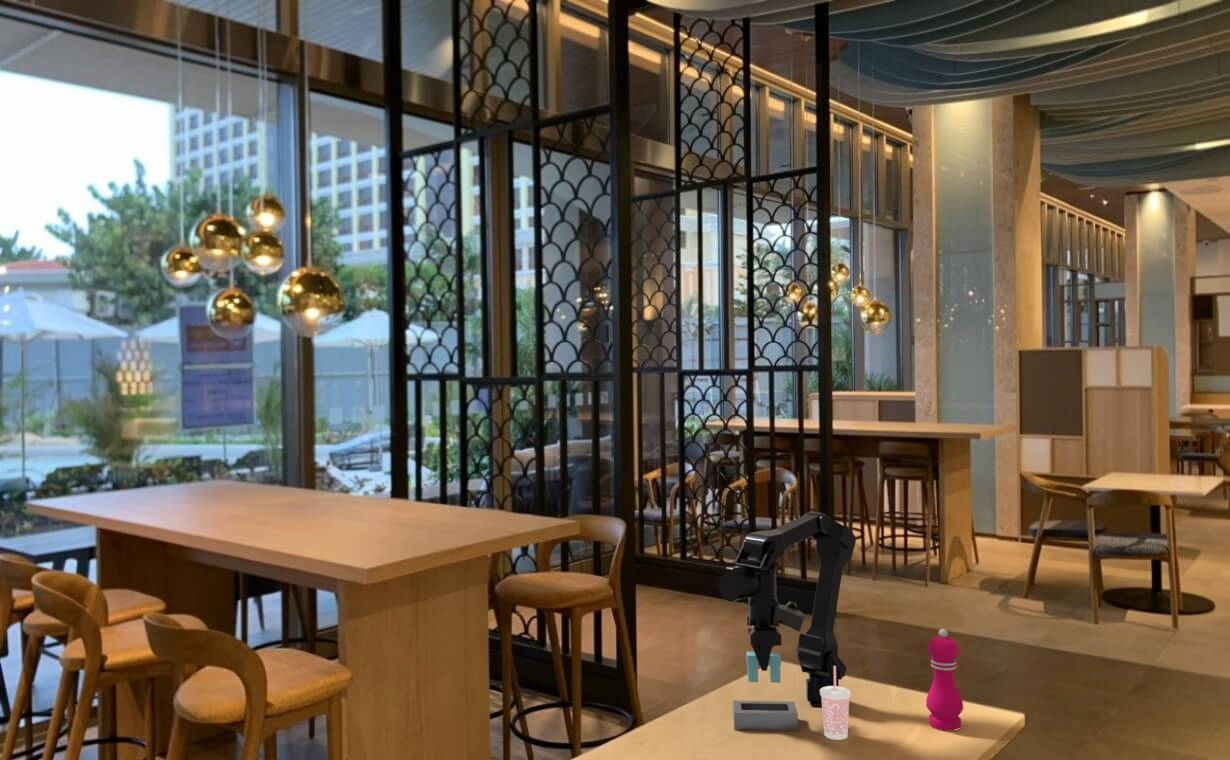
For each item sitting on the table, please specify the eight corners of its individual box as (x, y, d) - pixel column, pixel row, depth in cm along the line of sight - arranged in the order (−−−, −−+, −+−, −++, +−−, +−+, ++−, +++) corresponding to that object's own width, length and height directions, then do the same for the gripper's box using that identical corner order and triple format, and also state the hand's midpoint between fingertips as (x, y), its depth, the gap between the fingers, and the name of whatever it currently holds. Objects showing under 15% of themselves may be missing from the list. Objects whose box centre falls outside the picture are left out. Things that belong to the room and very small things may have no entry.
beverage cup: (814, 734, 184) (812, 665, 185) (833, 727, 188) (832, 659, 188) (838, 743, 180) (837, 672, 180) (857, 736, 183) (856, 666, 183)
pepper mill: (964, 722, 190) (962, 626, 190) (962, 734, 183) (960, 634, 184) (928, 717, 193) (926, 623, 193) (924, 729, 186) (922, 631, 187)
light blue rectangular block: (747, 682, 190) (747, 655, 190) (746, 677, 193) (746, 651, 193) (781, 682, 189) (780, 656, 189) (780, 678, 192) (779, 652, 192)
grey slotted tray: (794, 718, 194) (794, 701, 194) (798, 730, 186) (797, 713, 187) (733, 716, 195) (732, 700, 195) (734, 729, 188) (734, 712, 188)
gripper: (806, 604, 181) (807, 683, 181) (797, 584, 200) (798, 655, 199) (749, 604, 182) (751, 682, 182) (745, 584, 201) (747, 655, 201)
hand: (763, 668), depth 191 cm, fingers closed on light blue rectangular block, 3 cm apart
